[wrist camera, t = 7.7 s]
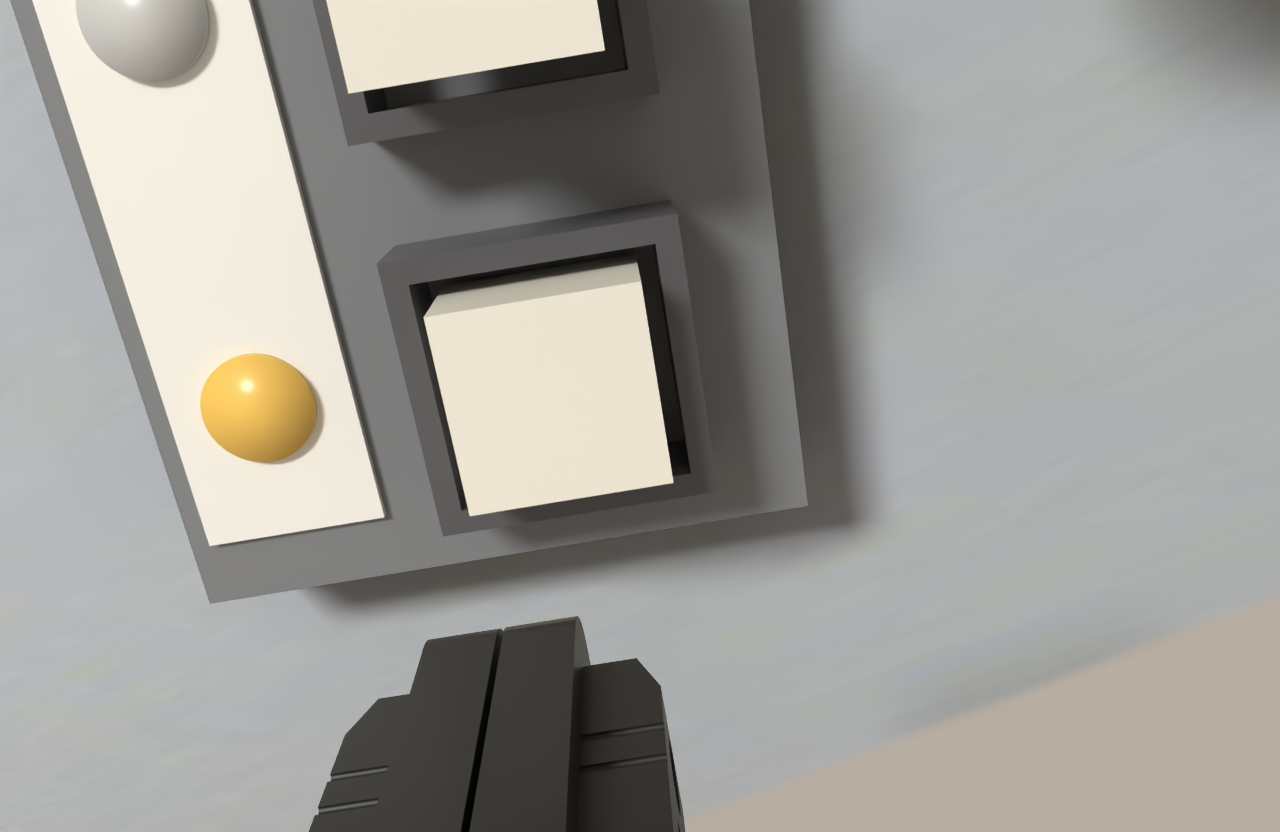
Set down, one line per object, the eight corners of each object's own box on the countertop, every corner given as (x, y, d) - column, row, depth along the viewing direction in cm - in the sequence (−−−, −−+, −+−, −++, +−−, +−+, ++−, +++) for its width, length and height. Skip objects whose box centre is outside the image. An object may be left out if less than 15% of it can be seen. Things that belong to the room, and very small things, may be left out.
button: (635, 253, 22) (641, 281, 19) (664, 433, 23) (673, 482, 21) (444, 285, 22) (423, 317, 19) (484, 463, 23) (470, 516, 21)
